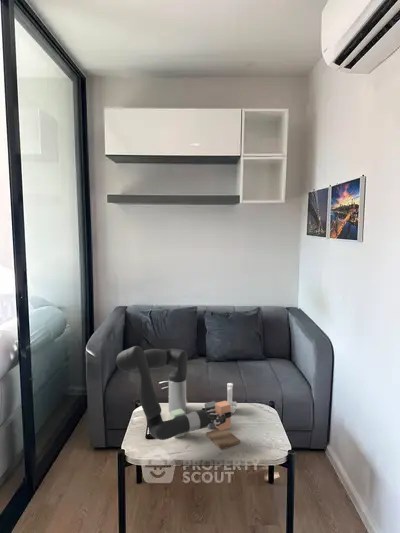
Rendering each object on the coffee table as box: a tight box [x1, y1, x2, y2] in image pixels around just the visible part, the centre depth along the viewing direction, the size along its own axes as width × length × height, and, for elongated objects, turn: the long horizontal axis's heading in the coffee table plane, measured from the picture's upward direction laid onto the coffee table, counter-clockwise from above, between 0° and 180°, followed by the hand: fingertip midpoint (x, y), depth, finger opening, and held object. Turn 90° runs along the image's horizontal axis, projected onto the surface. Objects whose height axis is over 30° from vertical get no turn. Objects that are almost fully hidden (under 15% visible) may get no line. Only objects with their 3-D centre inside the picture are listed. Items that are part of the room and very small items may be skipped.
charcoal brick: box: [204, 400, 217, 430], centre depth 183 cm, size 4×6×11 cm
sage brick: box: [170, 409, 186, 439], centre depth 175 cm, size 4×6×11 cm
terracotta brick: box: [215, 400, 232, 431], centre depth 170 cm, size 4×6×11 cm
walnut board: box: [205, 428, 241, 450], centre depth 171 cm, size 13×10×2 cm
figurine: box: [226, 382, 238, 414], centre depth 198 cm, size 7×9×15 cm
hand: (227, 411), depth 171 cm, fingers closed on terracotta brick, 4 cm apart
